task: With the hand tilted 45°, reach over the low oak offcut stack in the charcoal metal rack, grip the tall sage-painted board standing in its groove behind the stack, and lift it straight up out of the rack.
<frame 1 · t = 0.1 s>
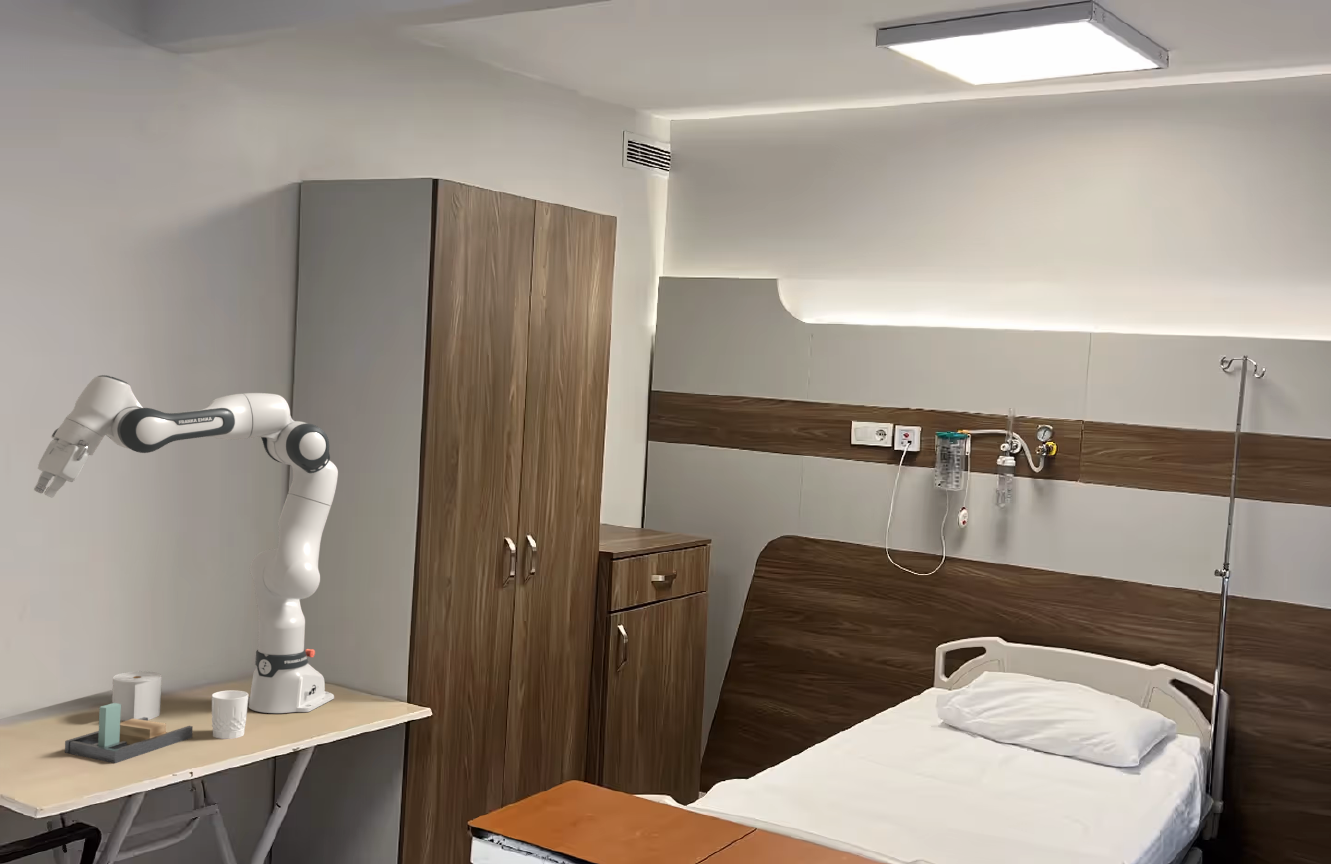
hand: (42, 494, 268), 54 cm above the table, tool tilted 30°, fingers open, 8 cm apart
rack: (130, 748, 267), on the table
toilet tissue: (137, 719, 289), on the table
white cup: (228, 738, 278), on the table
offcut stack: (140, 741, 270), point 1 cm above the table, touching rack
sage board: (108, 751, 261), point 1 cm above the table, touching rack
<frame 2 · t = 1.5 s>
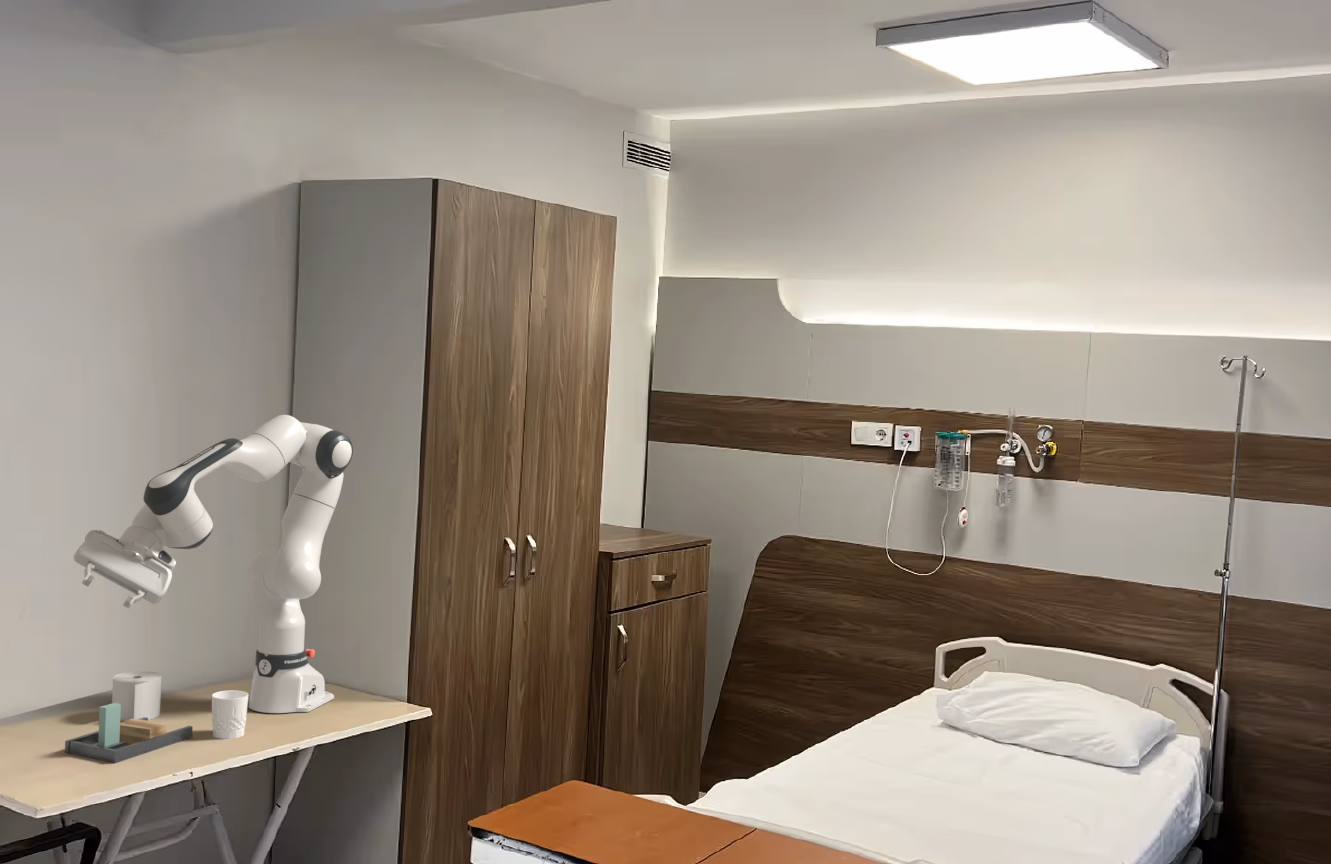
hand: (106, 594, 260), 35 cm above the table, tool tilted 55°, fingers open, 8 cm apart
nothing on the table moved.
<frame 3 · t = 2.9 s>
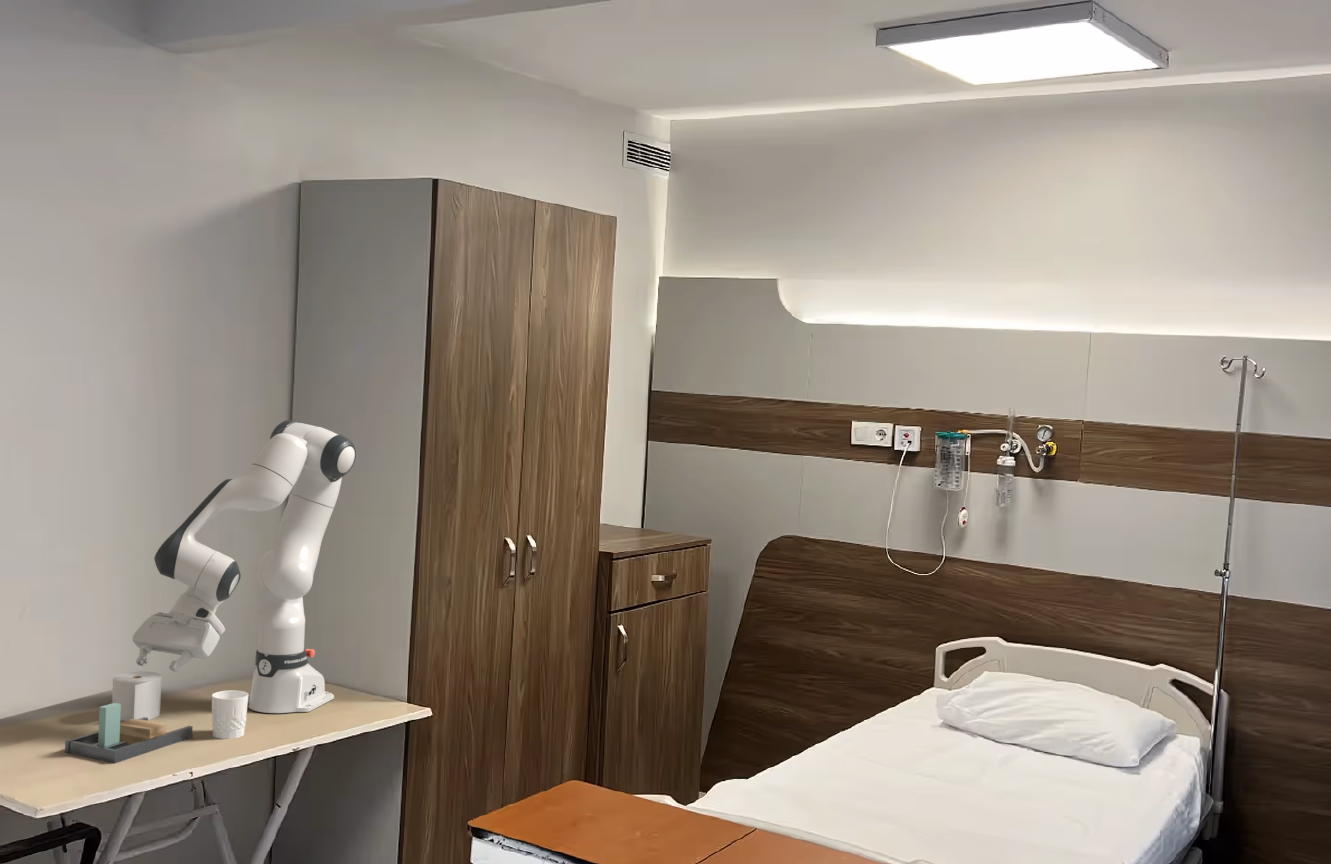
hand: (156, 667, 272), 17 cm above the table, tool tilted 45°, fingers open, 8 cm apart
nothing on the table moved.
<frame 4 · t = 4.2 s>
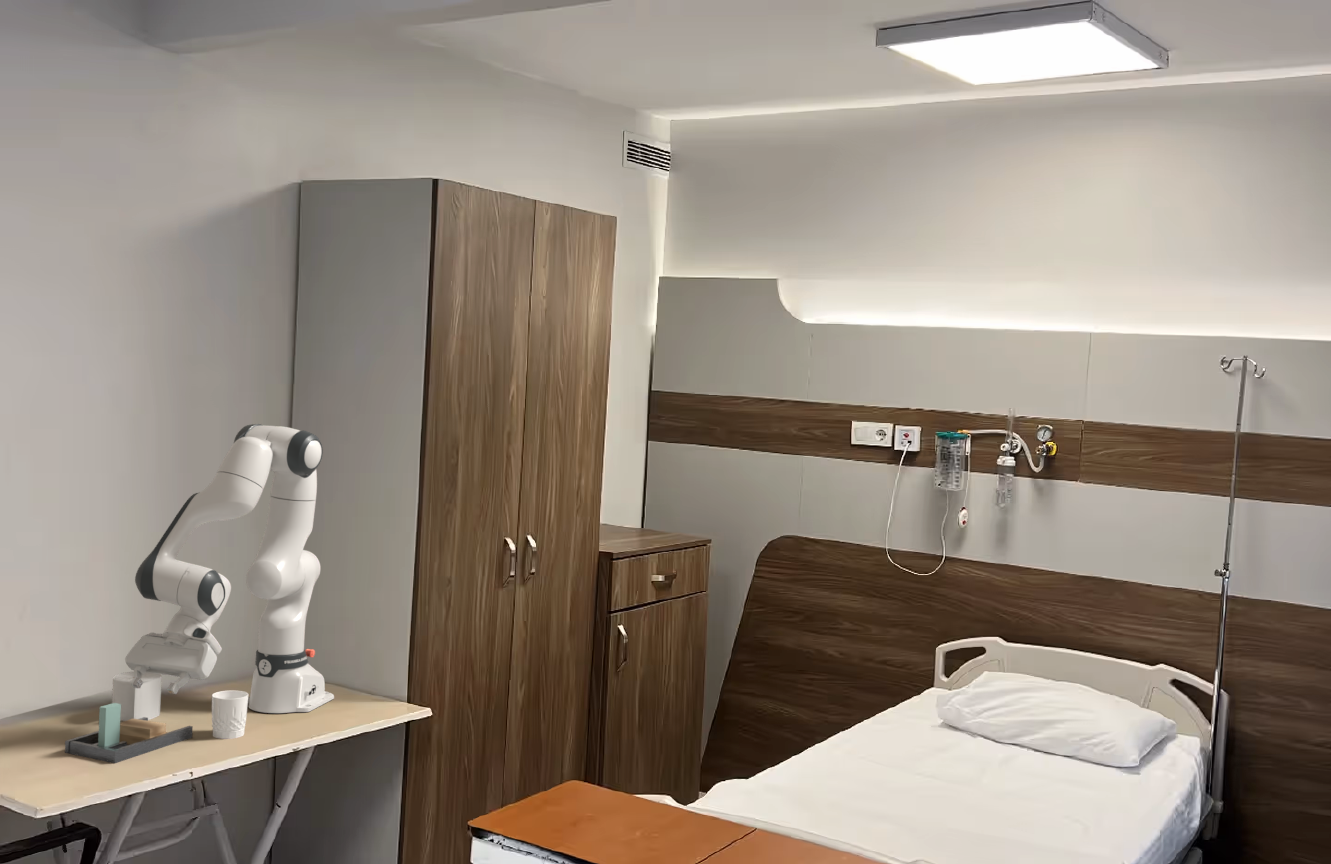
hand: (152, 689, 266), 13 cm above the table, tool tilted 45°, fingers open, 8 cm apart
nothing on the table moved.
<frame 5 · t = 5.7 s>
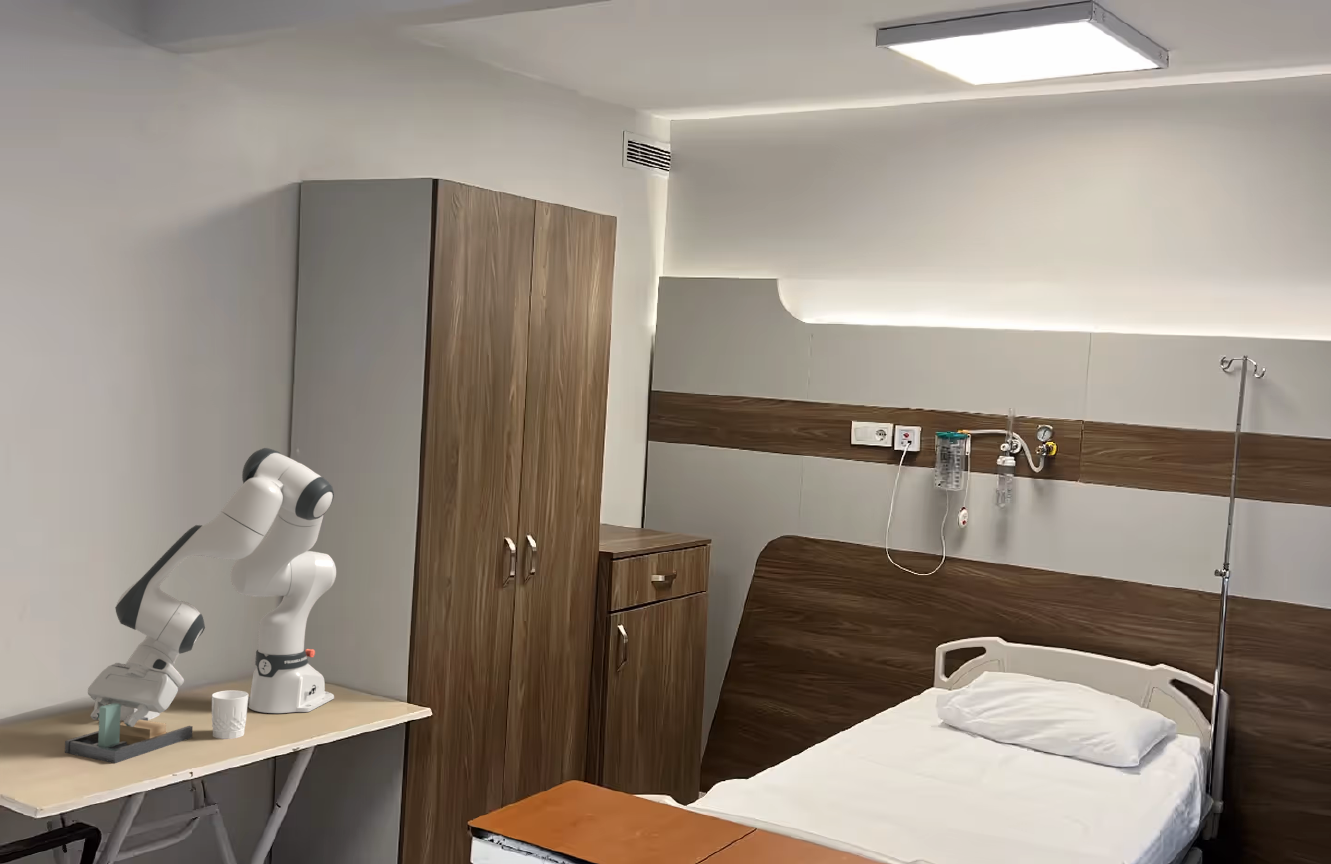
hand: (111, 721, 261), 7 cm above the table, tool tilted 45°, fingers open, 8 cm apart
nothing on the table moved.
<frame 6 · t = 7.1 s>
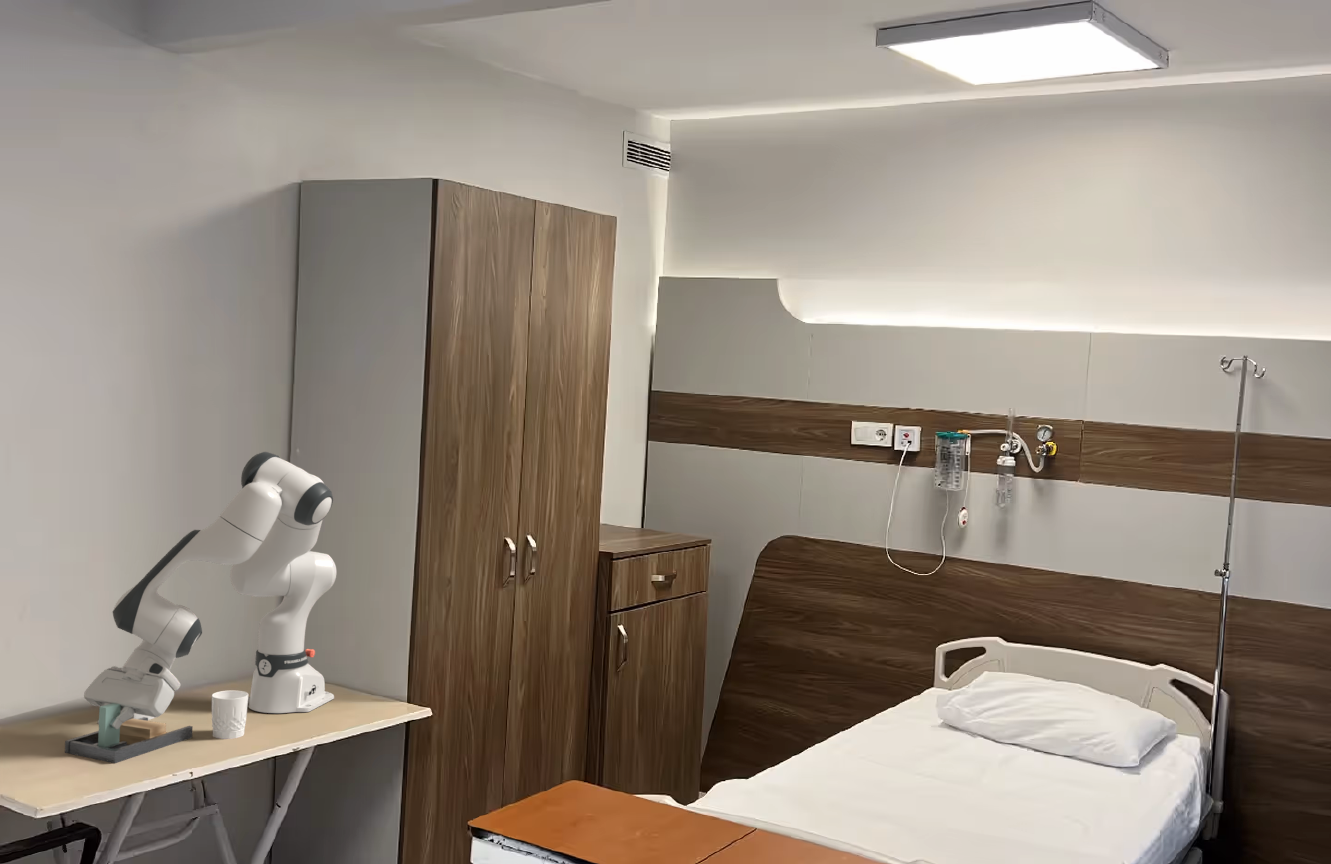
hand: (107, 726, 260), 6 cm above the table, tool tilted 45°, fingers closed on sage board, 2 cm apart
sage board: (108, 751, 261), point 1 cm above the table, touching gripper, rack
everything else where it was.
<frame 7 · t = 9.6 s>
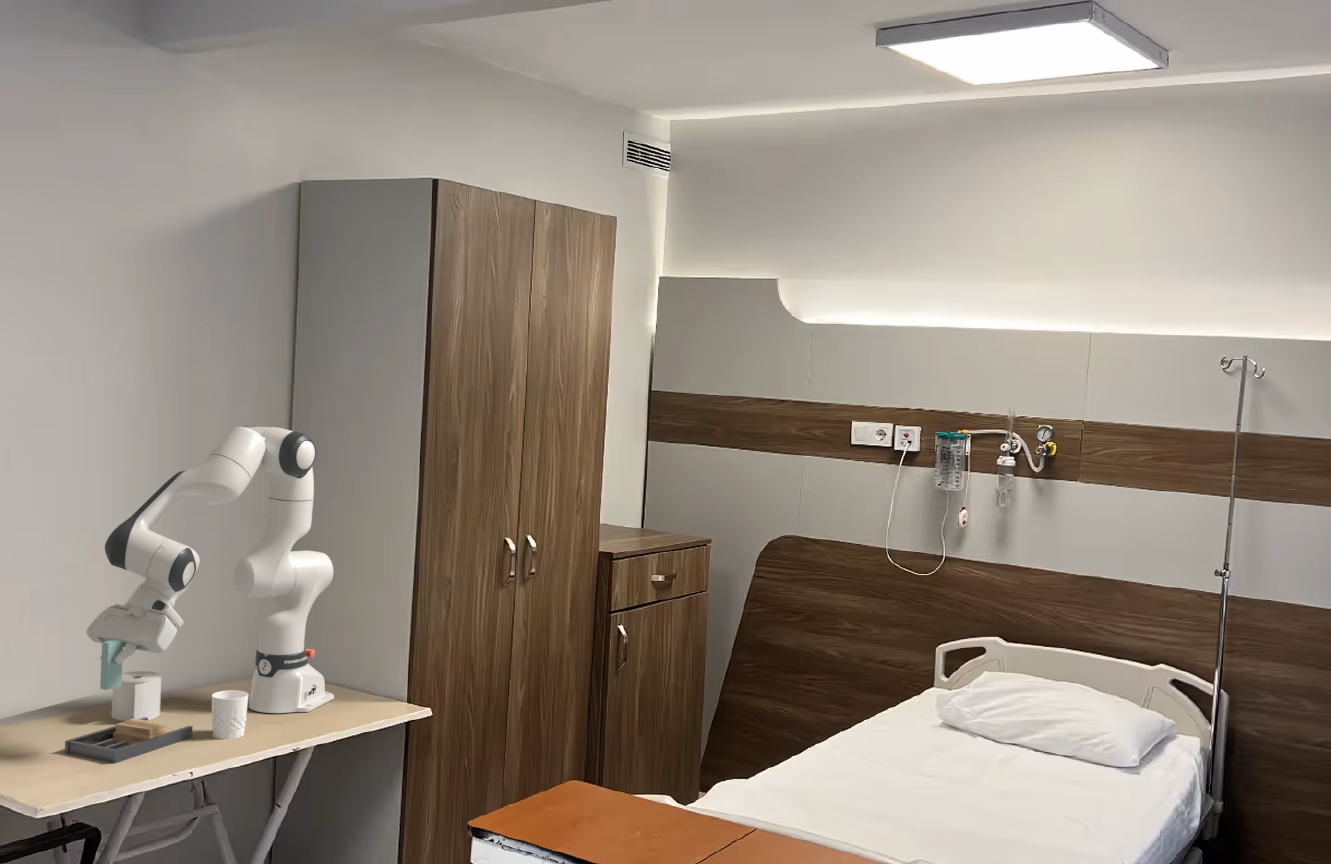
hand: (109, 661, 260), 20 cm above the table, tool tilted 45°, fingers closed on sage board
sage board: (110, 687, 261), point 15 cm above the table, touching gripper
everything else where it was.
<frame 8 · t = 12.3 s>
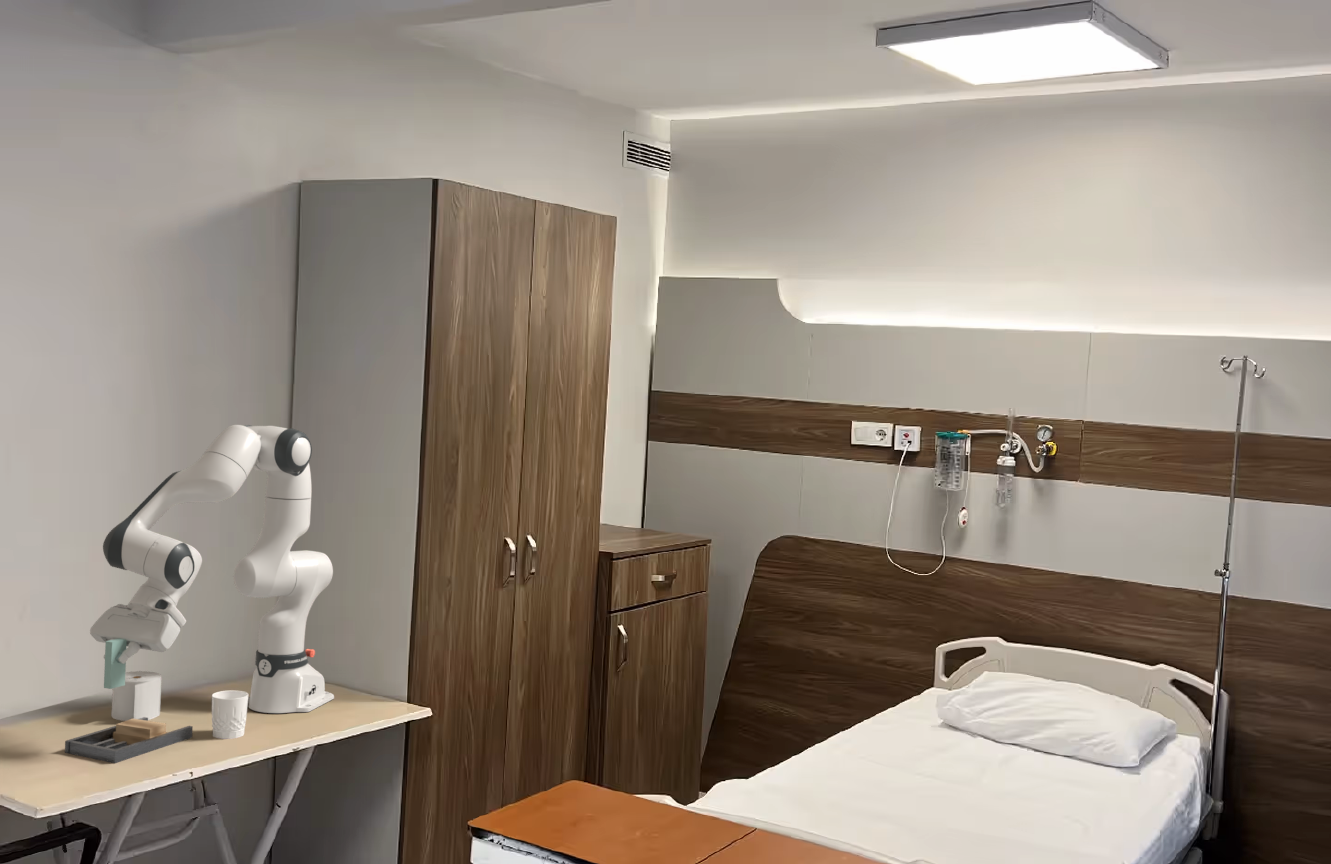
hand: (113, 660, 261), 20 cm above the table, tool tilted 45°, fingers closed on sage board
sage board: (114, 686, 262), point 15 cm above the table, touching gripper
everything else where it was.
at the end: sage board point 14.7 cm above the table; the gripper is holding sage board; offcut stack moved 0.0 cm from its start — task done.
